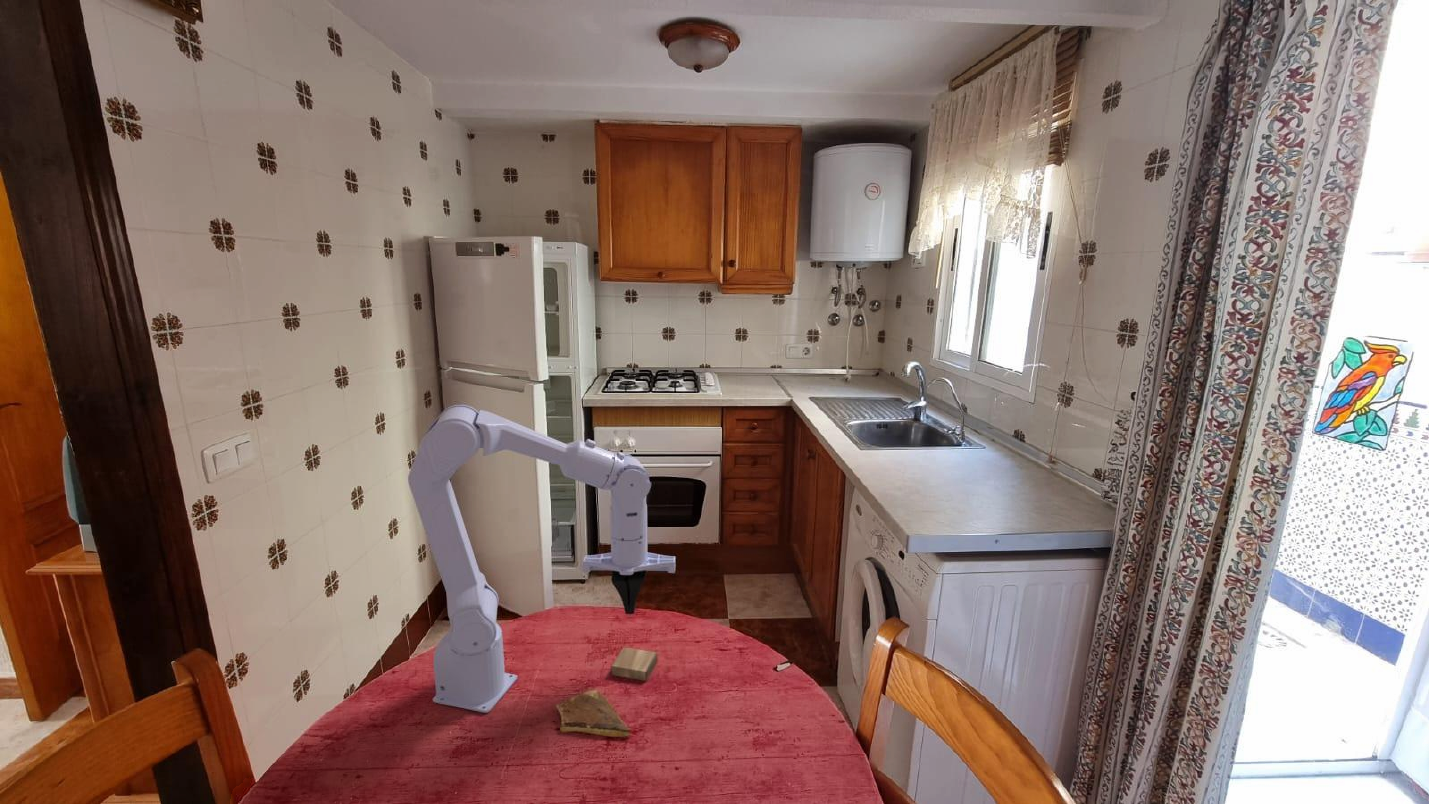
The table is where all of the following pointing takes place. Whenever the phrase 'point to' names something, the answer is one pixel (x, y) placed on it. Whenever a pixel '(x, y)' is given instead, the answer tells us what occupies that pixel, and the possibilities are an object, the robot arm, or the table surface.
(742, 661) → the table surface
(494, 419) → the robot arm
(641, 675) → the oak slab
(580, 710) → the shard
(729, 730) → the table surface
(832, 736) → the table surface
